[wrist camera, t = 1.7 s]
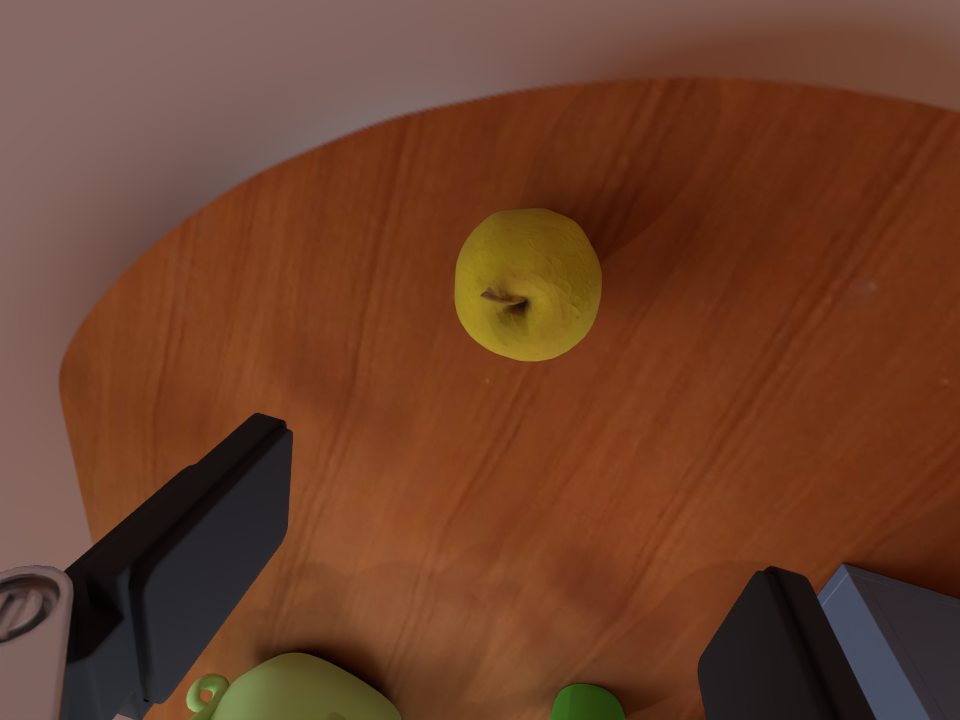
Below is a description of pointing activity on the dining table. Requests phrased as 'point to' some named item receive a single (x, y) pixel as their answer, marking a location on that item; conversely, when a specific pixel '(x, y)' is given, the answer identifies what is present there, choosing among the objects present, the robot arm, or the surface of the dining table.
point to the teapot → (290, 693)
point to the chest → (897, 643)
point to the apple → (527, 284)
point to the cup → (586, 704)
